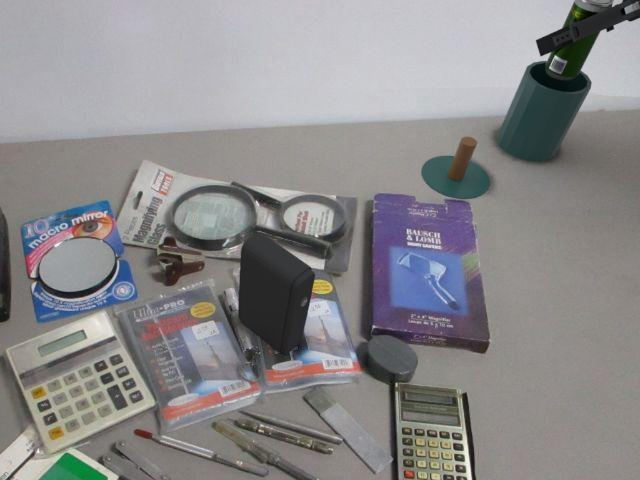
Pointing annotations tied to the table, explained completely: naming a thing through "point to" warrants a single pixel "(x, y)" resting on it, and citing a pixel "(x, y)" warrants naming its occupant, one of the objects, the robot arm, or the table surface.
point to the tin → (541, 113)
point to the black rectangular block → (274, 292)
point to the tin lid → (457, 173)
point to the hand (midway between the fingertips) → (550, 42)
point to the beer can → (573, 56)
